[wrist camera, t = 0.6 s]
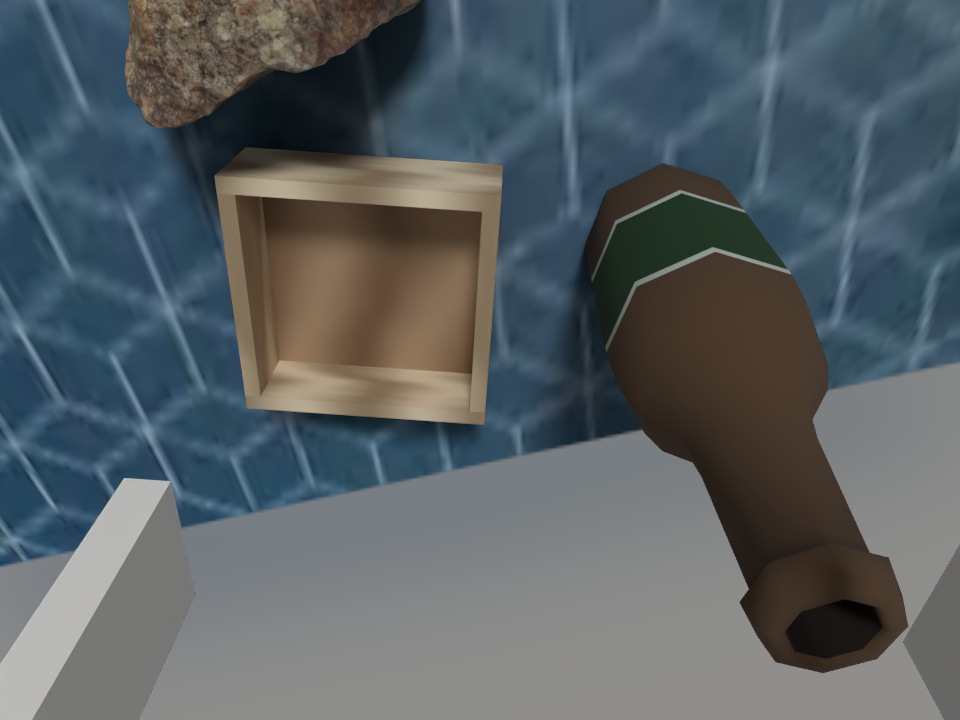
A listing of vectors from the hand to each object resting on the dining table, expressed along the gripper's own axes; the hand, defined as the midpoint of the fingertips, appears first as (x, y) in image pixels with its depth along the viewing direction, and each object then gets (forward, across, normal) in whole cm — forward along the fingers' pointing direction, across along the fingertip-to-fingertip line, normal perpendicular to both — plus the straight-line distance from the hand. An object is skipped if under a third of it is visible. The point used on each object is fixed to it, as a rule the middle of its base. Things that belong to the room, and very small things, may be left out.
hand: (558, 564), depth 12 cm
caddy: (+26, -7, -8) cm, 28 cm away
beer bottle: (+27, +7, -4) cm, 28 cm away
